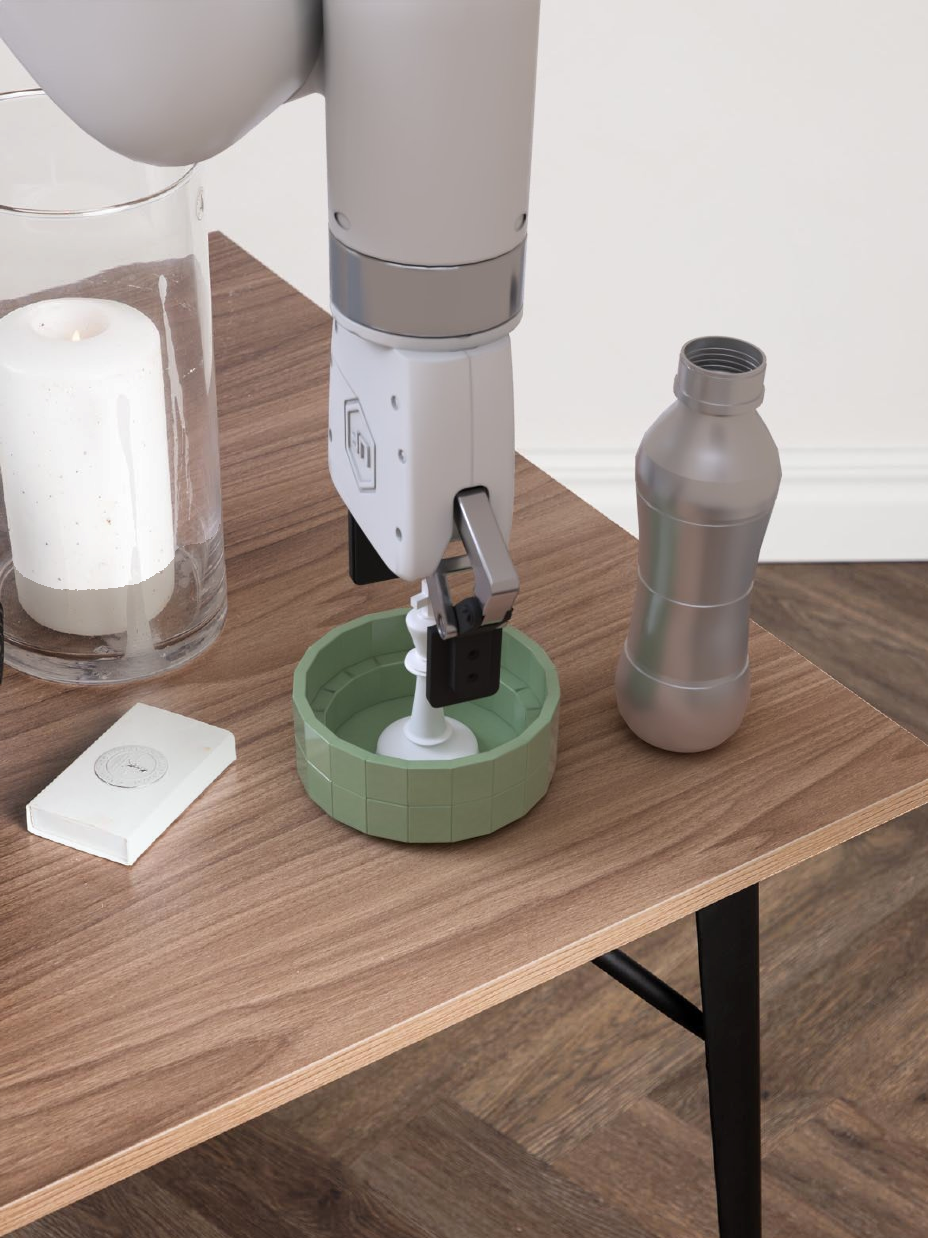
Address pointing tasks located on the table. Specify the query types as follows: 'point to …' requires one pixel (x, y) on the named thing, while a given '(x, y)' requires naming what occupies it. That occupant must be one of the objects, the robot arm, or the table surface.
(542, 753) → the bowl
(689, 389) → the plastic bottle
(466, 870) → the table surface
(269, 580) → the table surface
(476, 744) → the chess piece
